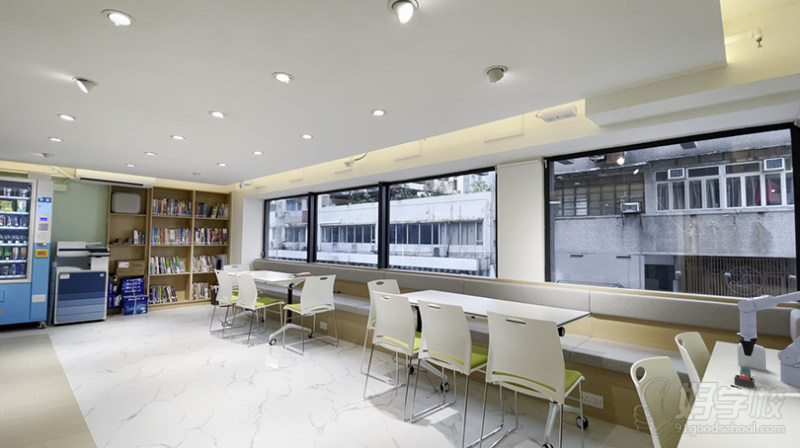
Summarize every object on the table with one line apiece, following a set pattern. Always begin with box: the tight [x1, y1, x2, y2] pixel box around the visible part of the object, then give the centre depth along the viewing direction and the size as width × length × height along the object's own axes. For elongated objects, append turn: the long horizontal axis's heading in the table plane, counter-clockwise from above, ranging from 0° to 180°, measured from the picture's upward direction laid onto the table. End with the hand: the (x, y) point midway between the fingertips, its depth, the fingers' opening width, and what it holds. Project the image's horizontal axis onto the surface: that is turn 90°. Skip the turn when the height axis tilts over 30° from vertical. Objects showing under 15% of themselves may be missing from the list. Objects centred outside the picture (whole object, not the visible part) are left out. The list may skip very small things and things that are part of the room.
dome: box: [739, 374, 751, 381], centre depth 158 cm, size 4×4×4 cm
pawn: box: [739, 365, 752, 378], centre depth 163 cm, size 5×5×7 cm
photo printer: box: [737, 343, 767, 371], centre depth 185 cm, size 10×4×12 cm, turn 39°
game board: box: [730, 373, 758, 390], centre depth 165 cm, size 26×8×4 cm, turn 133°
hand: (748, 354), depth 176 cm, fingers open, 7 cm apart
